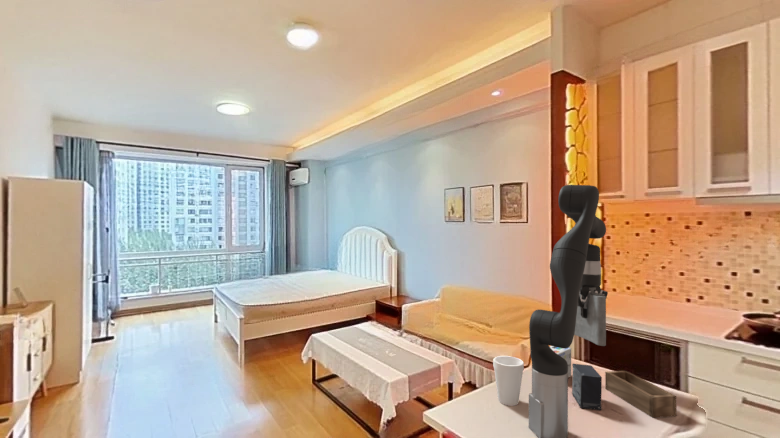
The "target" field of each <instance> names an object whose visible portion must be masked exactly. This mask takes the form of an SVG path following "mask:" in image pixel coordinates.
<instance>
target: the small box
mask: <svg viewBox="0 0 780 438" xmlns="http://www.w3.org/2000/svg"><path fill="white" fill-rule="evenodd" d="M571 367H572V380H571V381H572V386H571V387H572V389H571V394H572V397H573V398H574V400H575V401H576V403H577V405H578V406H579V408H581V409H587V410H588V409H589V410H596V411H601V410H602V388H603V387H602V386H603V385H602V380H603V379H602V378H603V377H602V376H601V375H600V373H599V372H598V371H597V370H596V369H595V368H594V367H593V365H591V364H580V363H571Z"/></svg>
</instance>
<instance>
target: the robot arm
mask: <svg viewBox="0 0 780 438" xmlns="http://www.w3.org/2000/svg"><path fill="white" fill-rule="evenodd" d="M599 192H600V190H599V188H598V187H597V186H595V185H589V184H566V185H564V186H562V187H561V188H560V190H559V193H558V199H557V200H558V208H559V209H560V211H561V212H562V213H563V214H565V215H566V216H567V217H568V218H570V219H571V220H572V221H573V222H574V226H573V227H572V228H570V229H569V230H568V231H567V232H566V233H564V235H563V236H561V238H559V240H558V241H557V242H555V244H554V246H553V249H552V253H551V258H550V262H549V270H550V273H551V277H552V278H553V280H554V282H555V284H556V287H557V289H558V291H559V295H560V297H561V298H560V300H561V306H560V311H559V312H558V311H551V310H545V309H535V310H534V311H533V312H532V313H531V316H530V318H529V326H528V327H529V329H528V330H529V331H528V332H529V350H530V351H529V352H530V353H529V355H530V360H531V393H528V428H529V429H530V430H531V431H532V432H533V434H535V435H536V436H537V438H568V436H569V433H568V432H569V396H568V395H569V377H568V363H567V361H566V360H565V359H564V358H562V357H561V356H559V355H558V354H556V353H555V352H554V351H553V350H552V349H551V348H550V346H554V347H559V348H565V349H566V348H568V347H569V348H571V345H572V344H573V340H574V338H575V337H574V336H575V335H574V333H575V325H576V316H577V306H579V307H580V308H581V316H582V318H587V309H586V308H587V304H588V303H589V300H590V294H591V293H592V292H591V290H590V289H589V287H596V290H594V293H598V294H601V295H603V296H606V299H607V296H608V294H609V292H608V291H606V290H603V289H601V286H602V264H601V247H600V246H599V245H596V244H592V243H590V239H595V240H596V239H597V240H599V239H602V238H603V237H604V236H605V235H606V233H607V227H606V224H605V222H604V221H603V220H602V219H601V218H599V217H597V215H596V213H597V211H598V210H597V209H598V205H599V201H600V193H599ZM580 294H581V299H580Z"/></svg>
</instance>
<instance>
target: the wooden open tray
mask: <svg viewBox="0 0 780 438" xmlns="http://www.w3.org/2000/svg"><path fill="white" fill-rule="evenodd" d="M604 373H605V375H604V376H605V384H604V385H605V386H604V387H605V390H607V391H608V392H610V393H611V394H612V395H615V396H616V397H618V398H619V399H621V400H623V401H625V402H626V403H628V404H629V405H631V406H633V407H635V408H636V409H637V410H638V411H639V410H640V411H641V412H643V413H644V414H646V415H648V416H649V417H651V418H652V419H653V418H654V419H656V418H667V417H668V418H669V417H677V395H675V394H673V393H671V392H669V391H667V390H665V389H664V388H661V387H659V386H657V385H655V384H654V383H652V382H650V381H647V380H646V379H644V378H642V377H639V376H638V375H635V374H634V373H633V372H632V373H631V372H630V371H628V370H613V371H605V372H604Z"/></svg>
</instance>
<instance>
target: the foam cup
mask: <svg viewBox="0 0 780 438" xmlns="http://www.w3.org/2000/svg"><path fill="white" fill-rule="evenodd" d="M492 359H493V360H492V365H493V370H494V380H495V385H496V395H497V400H498V402H499V403H500V404H502V405H504V406H505V405H506V406H510V407H511V406H517V405H518V404H519V401H520V394H521V389H522V388H521V386H522V381H523V380H522V379H523V374H524V369H525V367H524V365H525V364H524V361H523V360H522V359H520V358H519V357H515V356H509V355H498V356H495V357H494V358H492Z"/></svg>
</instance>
